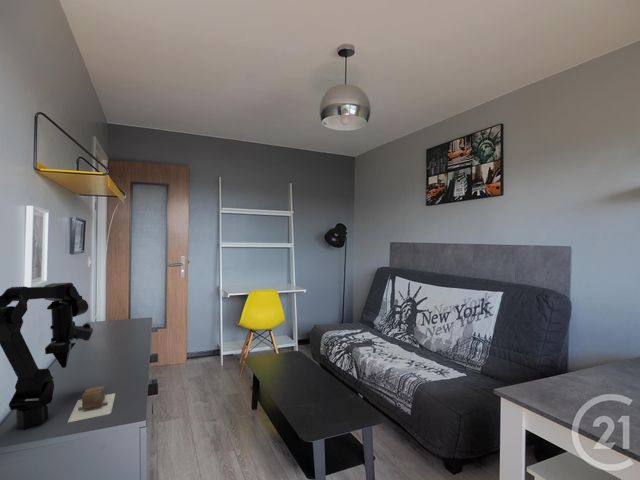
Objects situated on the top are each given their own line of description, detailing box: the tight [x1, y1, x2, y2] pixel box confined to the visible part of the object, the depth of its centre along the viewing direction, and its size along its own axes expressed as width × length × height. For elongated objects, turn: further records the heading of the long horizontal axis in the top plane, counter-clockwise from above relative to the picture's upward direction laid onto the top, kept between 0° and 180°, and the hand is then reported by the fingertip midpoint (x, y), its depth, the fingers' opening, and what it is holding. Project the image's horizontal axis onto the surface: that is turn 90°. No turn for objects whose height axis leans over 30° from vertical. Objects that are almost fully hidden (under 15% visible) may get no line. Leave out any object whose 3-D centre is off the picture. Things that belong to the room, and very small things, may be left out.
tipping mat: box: [67, 392, 116, 423], centre depth 118 cm, size 17×11×2 cm, turn 25°
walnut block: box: [81, 385, 106, 409], centre depth 119 cm, size 4×5×9 cm
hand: (64, 367), depth 123 cm, fingers closed
